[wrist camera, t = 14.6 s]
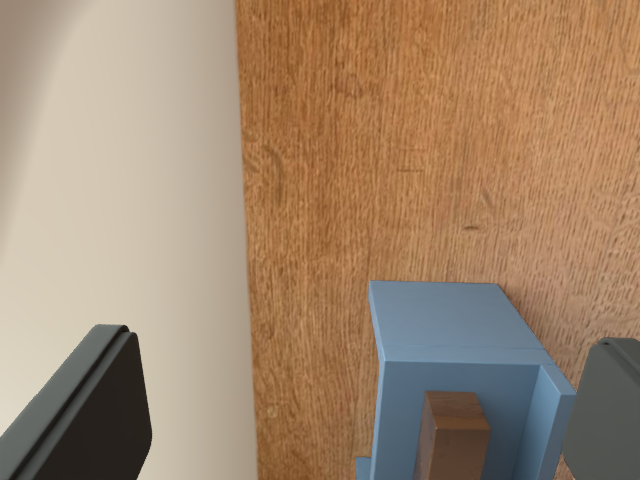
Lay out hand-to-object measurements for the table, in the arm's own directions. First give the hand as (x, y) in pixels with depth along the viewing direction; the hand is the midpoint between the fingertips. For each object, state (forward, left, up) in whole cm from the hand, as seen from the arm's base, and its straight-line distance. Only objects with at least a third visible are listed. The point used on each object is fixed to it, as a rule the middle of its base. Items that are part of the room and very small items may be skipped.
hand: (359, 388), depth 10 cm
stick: (+7, -20, -14) cm, 26 cm away
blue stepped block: (+8, -20, -24) cm, 32 cm away
